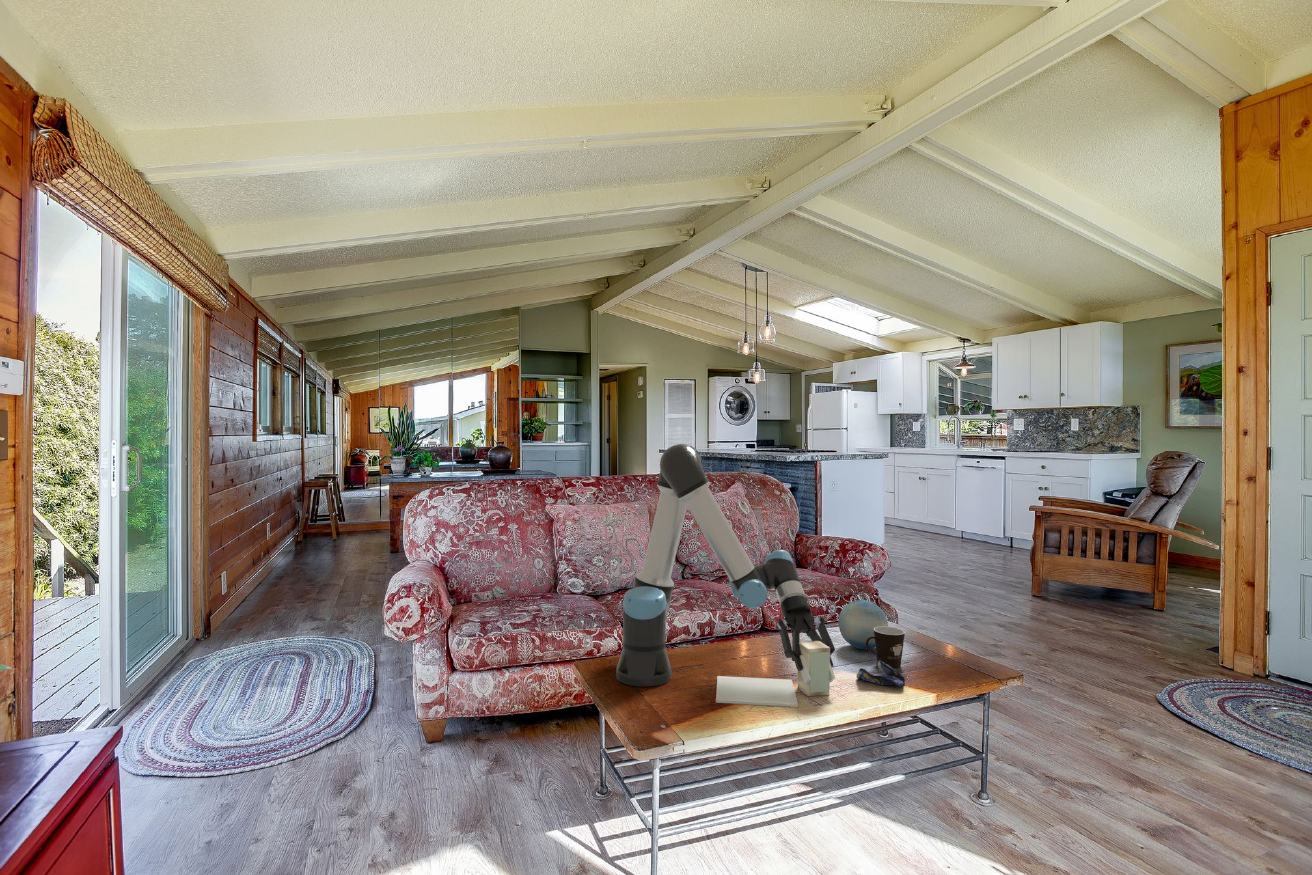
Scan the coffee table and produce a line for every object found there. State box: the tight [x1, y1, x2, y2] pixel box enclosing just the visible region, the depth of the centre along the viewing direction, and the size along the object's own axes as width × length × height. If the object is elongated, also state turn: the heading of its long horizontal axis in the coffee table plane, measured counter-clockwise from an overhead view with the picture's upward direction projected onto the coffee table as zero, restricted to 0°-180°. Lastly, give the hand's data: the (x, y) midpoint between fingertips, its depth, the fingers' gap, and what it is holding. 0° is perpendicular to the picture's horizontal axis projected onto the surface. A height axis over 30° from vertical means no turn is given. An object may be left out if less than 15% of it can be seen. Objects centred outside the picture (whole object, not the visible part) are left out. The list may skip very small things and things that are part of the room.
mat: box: [715, 675, 799, 708], centre depth 170 cm, size 20×17×1 cm
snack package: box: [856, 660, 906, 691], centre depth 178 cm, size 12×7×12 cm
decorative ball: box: [838, 599, 889, 650], centre depth 208 cm, size 15×15×15 cm
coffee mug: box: [866, 626, 906, 670], centre depth 192 cm, size 12×9×10 cm
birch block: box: [797, 640, 831, 697], centre depth 171 cm, size 6×6×12 cm
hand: (820, 680), depth 168 cm, fingers closed on birch block, 6 cm apart
